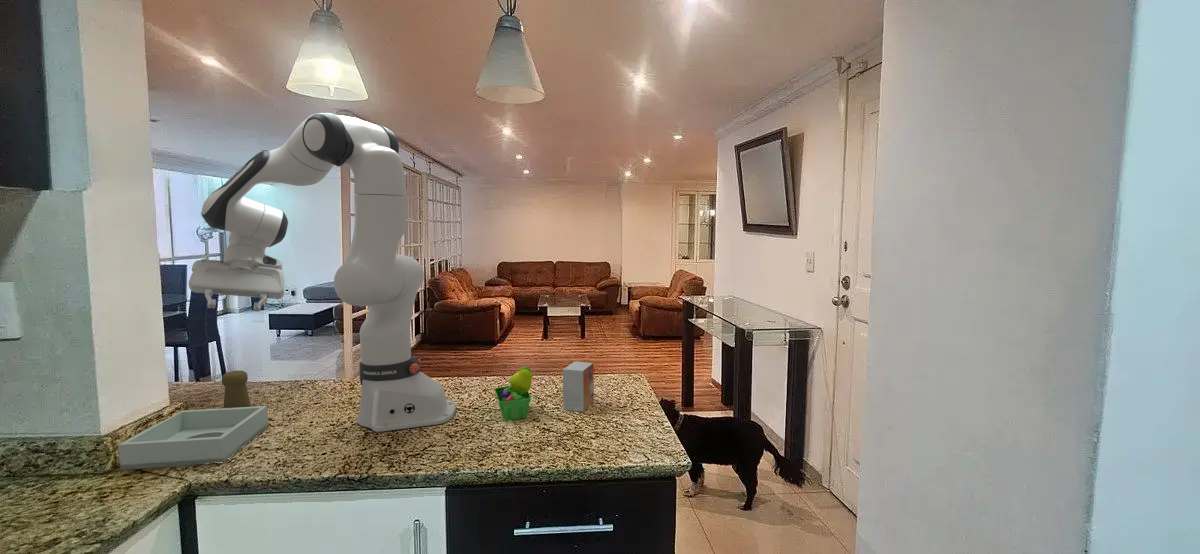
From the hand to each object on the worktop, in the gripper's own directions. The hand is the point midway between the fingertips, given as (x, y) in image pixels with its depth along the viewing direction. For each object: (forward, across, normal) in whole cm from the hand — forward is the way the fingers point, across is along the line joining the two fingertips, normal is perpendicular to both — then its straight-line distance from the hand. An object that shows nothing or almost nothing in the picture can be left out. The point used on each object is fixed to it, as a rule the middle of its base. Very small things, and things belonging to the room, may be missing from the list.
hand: (234, 308), depth 129 cm
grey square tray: (+36, 0, -4) cm, 36 cm away
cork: (+24, +4, +10) cm, 27 cm away
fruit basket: (+36, +63, -22) cm, 76 cm away
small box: (+36, +78, -26) cm, 90 cm away
